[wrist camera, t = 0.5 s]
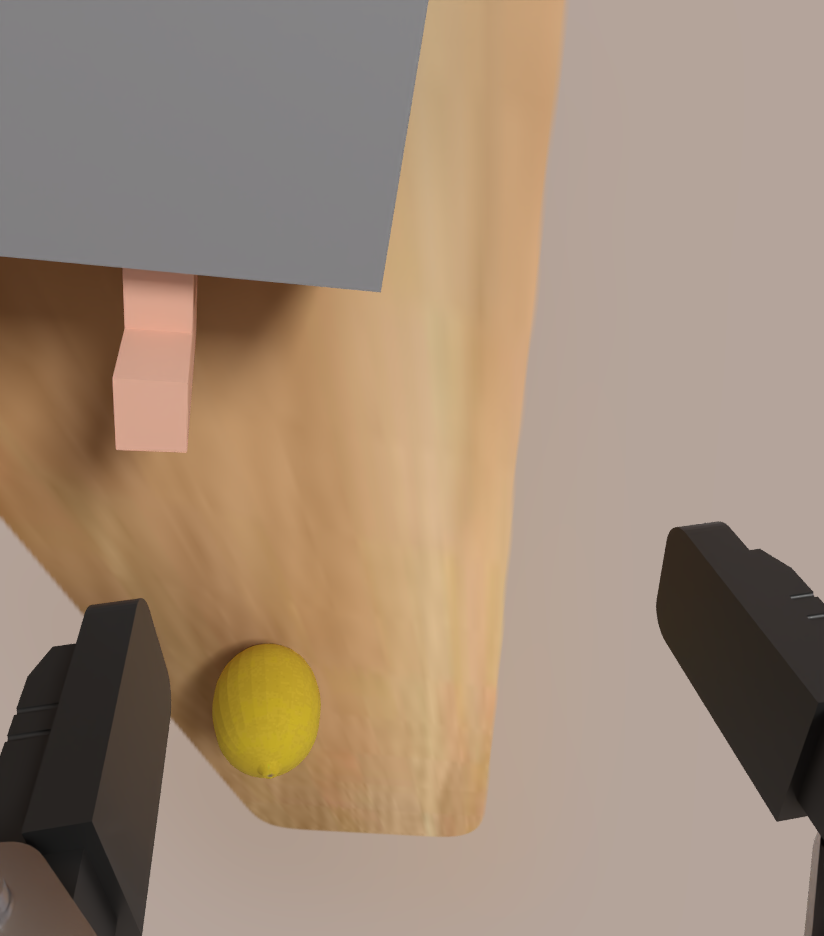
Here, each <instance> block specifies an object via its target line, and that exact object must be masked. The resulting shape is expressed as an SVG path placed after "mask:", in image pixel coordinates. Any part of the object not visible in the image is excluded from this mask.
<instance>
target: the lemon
mask: <svg viewBox="0 0 824 936" xmlns="http://www.w3.org/2000/svg"><path fill="white" fill-rule="evenodd" d="M320 708H321V703H320V693H319V689H318V686H317V682H316V679H315V676H314V674H313V672H312V670H311V668H310V667H309V665H308V664H307V663H306V661H305V660H304V659H303V658H302V657H301V656H300V655H299V654H297V653H296V652H294V651H293V650H292V649H290V648H287V647H284V646H282V645H277V644H260V645H255V646H252V647H249V648H247V649H245V650H244V651H242V652H240V653H238V654H237V655H236V656H235V657H234V658H233V659H232V660H231V661H230V662H229V663H228V664H227V665H226V666H225V668H224V670H223V671H222V673H221V675H220V677H219V679H218V681H217V684H216V688H215V693H214V698H213V705H212V717H213V724H214V729H215V733H216V738H217V741H218V744H219V747H220V749H221V751H222V753H223V755H224V756H225V757H226V759H227V760H228V761H229V763H230V764H231V765H232V766H234V767H235V768H236V769H238V770H239V771H241V772H243V773H245V774H247V775H250V776H253V777H259V778H267V779H270V778H274V777H276V776H280V775H282V774H284V773H287V772H289V771H290V770H292V769H293V768H295V767H296V766H297V765H299V764H300V763H301V762H302V760H303V759H304V758H305V757H306V756H307V755H308V753H309V752H310V750H311V748H312V746H313V744H314V742H315V739H316V736H317V732H318V727H319V719H320Z"/></svg>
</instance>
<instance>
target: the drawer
mask: <svg viewBox="0 0 824 936" xmlns="http://www.w3.org/2000/svg"><path fill="white" fill-rule="evenodd" d="M122 270H123V297H124V324H125V329H124V333H123V337H122V341H121V345H120V349H119V353H118V357H117V362H116V366H115V370H114V374H113V378H112V380H113V400H114V421H115V441H116V450H134V451H160V452H187V446H188V433H189V420H190V407H191V395H192V382H193V369H194V357H195V344H196V327H197V279H198V275H194V274H183V273H172V272H162V271H151V270H141V269H130V268H122Z"/></svg>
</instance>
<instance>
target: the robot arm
mask: <svg viewBox="0 0 824 936" xmlns="http://www.w3.org/2000/svg"><path fill="white" fill-rule="evenodd" d="M656 611H657V619H658V624H659V627H660V630H661V633H662V636H663V638H664V640H665V641H666V643H667V645H668V646H669V648H670V650H671V651H672V653H673V655H674V656H675V658H676V659H677V661H678V663H679V664H680V666H681V668H682V669H683V671H684V672H685V674H686V676H687V677H688V679H689V680H690V682H691V684H692V685H693V687H694V689H695V690H696V692H697V693H698V695H699V697H700V698H701V700H702V702H703V703H704V705H705V706H706V708H707V710H708V711H709V712H710V714H711V716H712V718H713V719H714V721H715V723H716V724H717V726H718V727H719V729H720V730H721V732H722V734H723V735H724V737H725V739H726V740H727V742H728V743H729V745H730V747H731V748H732V750H733V752H734V753H735V755H736V756H737V758H738V760H739V761H740V763H741V765H742V766H743V767H744V769H745V771H746V773H747V774H748V776H749V777H750V779H751V781H752V782H753V784H754V786H755V787H756V789H757V790H758V792H759V794H760V795H761V797H762V799H763V800H764V802H765V803H766V805H767V807H768V808H769V810H770V811H771V813H772V815H773V816H774V818H775V820H776V821H783V820H788V819H794V818H799V817H805V816H808V817H809V819H810V820H811V821H812V823H813V825H814V826H815V827H816V829H817V831H818V833H817V835H816V837H815V840H814V844H813V851H812V861H811V872H810V882H809V892H808V902H807V913H806V923H805V933H804V936H824V603H823V602H822V601H821V600H820V599H819V598H818V597H814V595H813V591H812V590H811V589H810V588H809V587H808V586H807V585H806V583H805V582H803V580H802V579H801V578H800V577H799V576H798V575H797V574H796V573H795V571H794V570H793V569H792V568H791V567H789V566H787V565H786V564H784V563H782V562H780V561H779V560H777V559H776V558H774V557H772V556H771V555H769V554H767V553H766V552H764V551H763V550H761V549H755V550H749V549H748V548H747V547H746V546H745V545H744V543H743V542H742V541H741V540H740V539H739V538H738V537H737V535H736V534H735V533H734V532H733V531H732V530H731V529H730V527H729V526H727V525H726V524H725V523H723V522H711V523H704V524H696V525H690V526H682V527H675V528H673V529H672V530H671V531H670V532H669V535H668V537H667V542H666V548H665V554H664V560H663V565H662V571H661V577H660V583H659V590H658V595H657V602H656ZM170 716H171V690H170V681H169V676H168V671H167V668H166V664H165V661H164V658H163V654H162V651H161V647H160V644H159V641H158V637H157V634H156V631H155V627H154V624H153V620H152V617H151V614H150V610H149V607H148V605H147V603H146V601H145V600H144V599H143V598H139V599H132V600H125V601H117V602H110V603H103V604H95V605H90V606H89V607H88V608H87V610H86V612H85V615H84V618H83V622H82V625H81V629H80V632H79V636H78V639H77V642H76V644H69V645H62V646H55V647H52V648H51V650H50V651H49V652H48V653H47V654H46V655H45V657H44V658H43V659H42V660H41V661H40V662H39V664H38V665H37V666H36V667H35V669H34V670H33V671H32V672H31V673H30V674H29V676H28V677H27V680H26V683H25V686H24V689H23V691H22V694H21V697H20V700H19V703H18V706H17V715H14V717H13V720H12V723H11V726H10V729H9V732H8V735H7V736H8V741H7V742H5V743H4V746H3V749H2V752H1V755H0V936H142V931H143V923H144V916H145V908H146V900H147V893H148V884H149V877H150V869H151V862H152V854H153V846H154V839H155V831H156V823H157V816H158V807H159V800H160V793H161V784H162V777H163V769H164V762H165V754H166V747H167V738H168V731H169V723H170Z"/></svg>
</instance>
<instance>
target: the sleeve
mask: <svg viewBox="0 0 824 936" xmlns="http://www.w3.org/2000/svg"><path fill="white" fill-rule="evenodd" d="M427 6H428V0H0V256H3V257H14V258H25V259H35V260H46V261H56V262H67V263H77V264H88V265H98V266H109V267H120V268H130V269H141V270H151V271H162V272H172V273H183V274H194V275H204V276H215V277H225V278H236V279H246V280H257V281H267V282H278V283H289V284H299V285H310V286H320V287H331V288H341V289H352V290H362V291H373V292H381V287H382V281H383V275H384V269H385V263H386V256H387V250H388V244H389V238H390V232H391V226H392V220H393V214H394V208H395V201H396V195H397V189H398V183H399V177H400V171H401V165H402V159H403V153H404V147H405V140H406V134H407V128H408V122H409V116H410V110H411V104H412V98H413V92H414V85H415V79H416V73H417V67H418V61H419V55H420V49H421V43H422V37H423V30H424V24H425V18H426V12H427Z"/></svg>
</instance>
